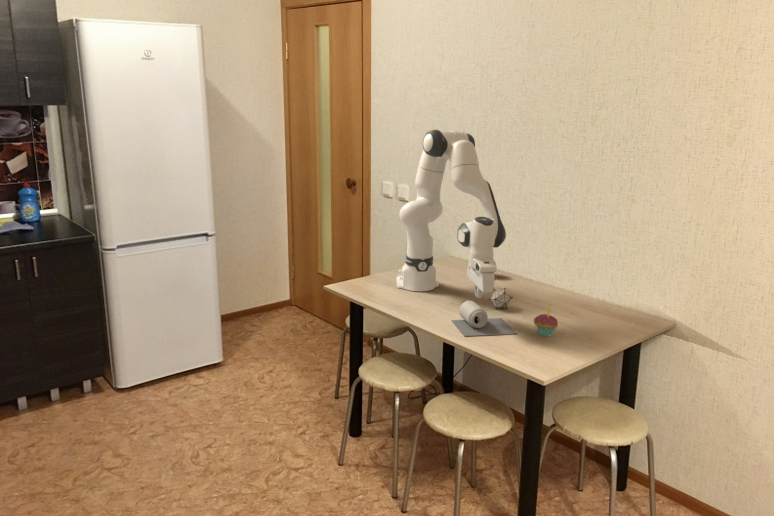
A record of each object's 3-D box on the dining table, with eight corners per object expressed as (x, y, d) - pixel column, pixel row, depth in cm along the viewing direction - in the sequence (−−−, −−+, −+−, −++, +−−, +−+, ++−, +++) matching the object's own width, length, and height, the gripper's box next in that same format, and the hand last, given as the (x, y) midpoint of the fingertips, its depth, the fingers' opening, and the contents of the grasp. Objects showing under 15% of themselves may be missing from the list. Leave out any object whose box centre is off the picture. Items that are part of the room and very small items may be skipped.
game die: (503, 318, 263) (512, 304, 255) (483, 309, 263) (492, 294, 256) (508, 302, 268) (517, 288, 261) (489, 293, 269) (497, 279, 261)
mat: (451, 321, 247) (451, 320, 247) (501, 318, 251) (501, 317, 251) (464, 336, 232) (464, 336, 232) (517, 334, 236) (517, 333, 236)
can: (457, 301, 246) (469, 312, 235) (476, 298, 248) (489, 308, 237) (458, 320, 249) (470, 331, 237) (477, 316, 250) (489, 327, 239)
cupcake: (561, 337, 234) (564, 305, 231) (540, 339, 232) (543, 307, 229) (549, 328, 242) (552, 297, 239) (528, 330, 240) (531, 299, 237)
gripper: (464, 254, 251) (461, 288, 255) (481, 269, 232) (478, 306, 235) (479, 253, 252) (477, 287, 256) (498, 268, 233) (495, 305, 237)
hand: (478, 296), depth 246 cm, fingers closed
